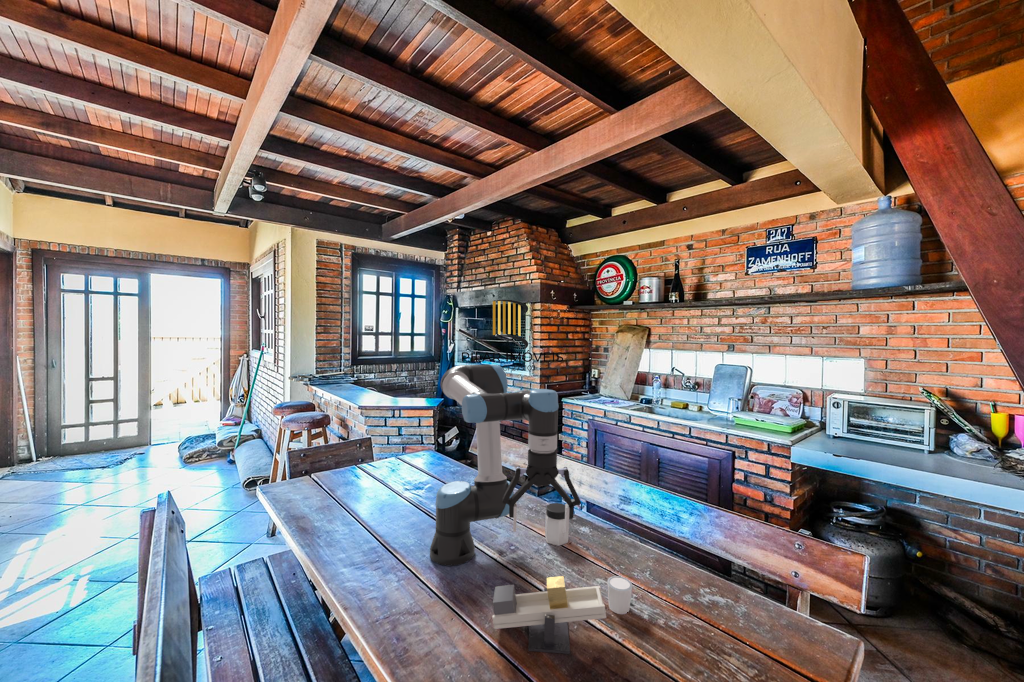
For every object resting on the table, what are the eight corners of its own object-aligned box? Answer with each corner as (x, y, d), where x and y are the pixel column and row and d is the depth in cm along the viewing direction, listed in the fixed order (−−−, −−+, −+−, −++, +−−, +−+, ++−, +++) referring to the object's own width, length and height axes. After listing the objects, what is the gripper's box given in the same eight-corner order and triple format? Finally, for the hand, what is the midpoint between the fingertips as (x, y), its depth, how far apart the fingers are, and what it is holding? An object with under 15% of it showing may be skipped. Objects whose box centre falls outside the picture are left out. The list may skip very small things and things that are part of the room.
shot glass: (603, 599, 119) (604, 575, 119) (626, 598, 120) (627, 575, 119) (610, 616, 112) (611, 591, 112) (635, 615, 113) (636, 590, 112)
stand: (528, 650, 99) (529, 620, 99) (529, 610, 113) (530, 584, 113) (570, 653, 99) (570, 623, 99) (566, 613, 113) (566, 586, 113)
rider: (550, 613, 104) (546, 588, 103) (550, 601, 108) (546, 577, 108) (568, 612, 103) (564, 586, 103) (567, 600, 108) (563, 575, 108)
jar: (554, 548, 146) (555, 514, 145) (540, 538, 153) (540, 506, 152) (573, 541, 151) (574, 509, 150) (558, 531, 158) (559, 501, 157)
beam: (493, 630, 103) (490, 606, 102) (497, 606, 111) (494, 583, 111) (606, 619, 101) (603, 594, 100) (601, 595, 109) (598, 572, 109)
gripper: (493, 452, 104) (492, 535, 104) (593, 454, 103) (591, 538, 104) (495, 444, 111) (493, 522, 112) (587, 446, 111) (585, 524, 112)
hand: (540, 530), depth 108 cm, fingers open, 13 cm apart
